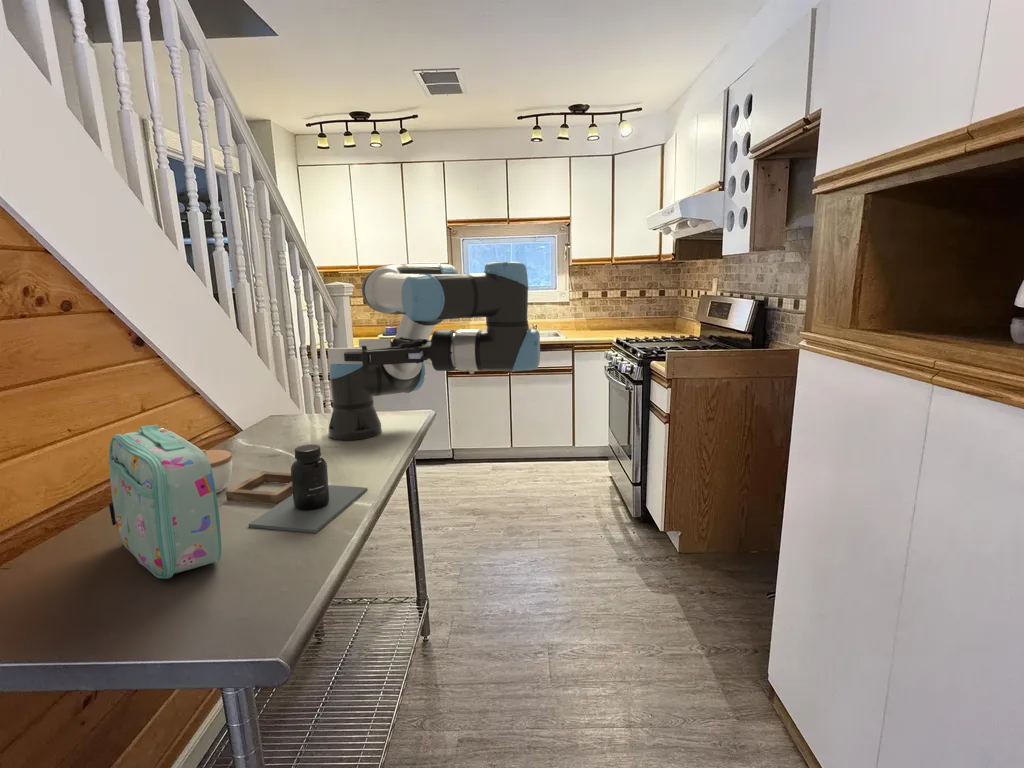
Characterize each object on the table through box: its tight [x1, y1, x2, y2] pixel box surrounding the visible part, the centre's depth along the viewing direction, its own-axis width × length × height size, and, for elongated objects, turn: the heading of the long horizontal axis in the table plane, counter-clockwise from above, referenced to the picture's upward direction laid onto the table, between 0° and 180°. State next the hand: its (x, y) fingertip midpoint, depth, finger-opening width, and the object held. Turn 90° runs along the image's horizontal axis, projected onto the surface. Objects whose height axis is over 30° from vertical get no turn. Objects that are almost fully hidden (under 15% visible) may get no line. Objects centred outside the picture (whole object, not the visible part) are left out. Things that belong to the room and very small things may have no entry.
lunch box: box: [108, 424, 222, 580], centre depth 89 cm, size 27×10×21 cm, turn 50°
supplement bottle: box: [290, 444, 329, 511], centre depth 107 cm, size 7×7×12 cm
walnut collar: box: [225, 470, 293, 505], centre depth 117 cm, size 12×12×2 cm
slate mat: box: [248, 484, 368, 534], centre depth 108 cm, size 20×14×1 cm
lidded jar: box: [201, 449, 233, 494], centre depth 117 cm, size 11×11×9 cm
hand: (345, 350), depth 101 cm, fingers open, 13 cm apart
